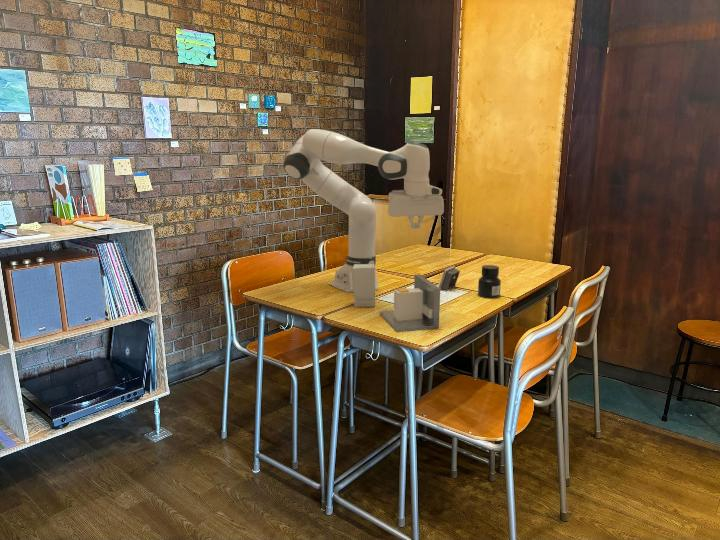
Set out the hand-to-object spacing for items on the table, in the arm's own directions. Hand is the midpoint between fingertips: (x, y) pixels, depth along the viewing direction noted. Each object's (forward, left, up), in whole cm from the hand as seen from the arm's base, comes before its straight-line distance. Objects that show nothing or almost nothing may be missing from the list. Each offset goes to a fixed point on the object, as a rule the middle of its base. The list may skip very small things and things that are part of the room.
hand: (415, 228), depth 198 cm
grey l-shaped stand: (+6, -10, -31) cm, 33 cm away
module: (+6, -10, -30) cm, 32 cm away
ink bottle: (+8, +38, -31) cm, 50 cm away
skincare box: (-18, -8, -31) cm, 37 cm away
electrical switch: (-10, +35, -31) cm, 48 cm away
